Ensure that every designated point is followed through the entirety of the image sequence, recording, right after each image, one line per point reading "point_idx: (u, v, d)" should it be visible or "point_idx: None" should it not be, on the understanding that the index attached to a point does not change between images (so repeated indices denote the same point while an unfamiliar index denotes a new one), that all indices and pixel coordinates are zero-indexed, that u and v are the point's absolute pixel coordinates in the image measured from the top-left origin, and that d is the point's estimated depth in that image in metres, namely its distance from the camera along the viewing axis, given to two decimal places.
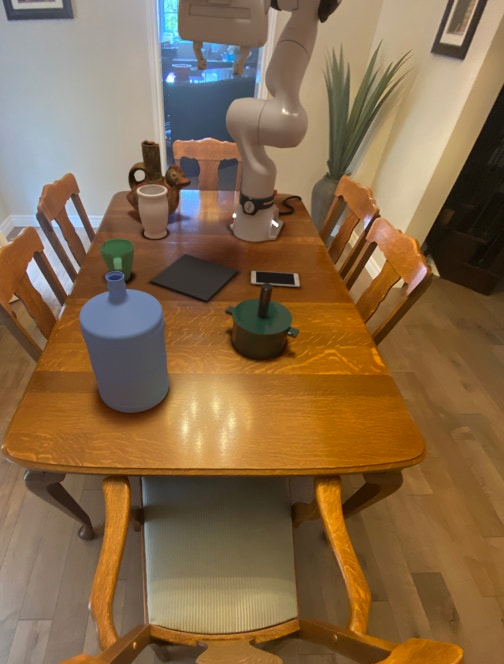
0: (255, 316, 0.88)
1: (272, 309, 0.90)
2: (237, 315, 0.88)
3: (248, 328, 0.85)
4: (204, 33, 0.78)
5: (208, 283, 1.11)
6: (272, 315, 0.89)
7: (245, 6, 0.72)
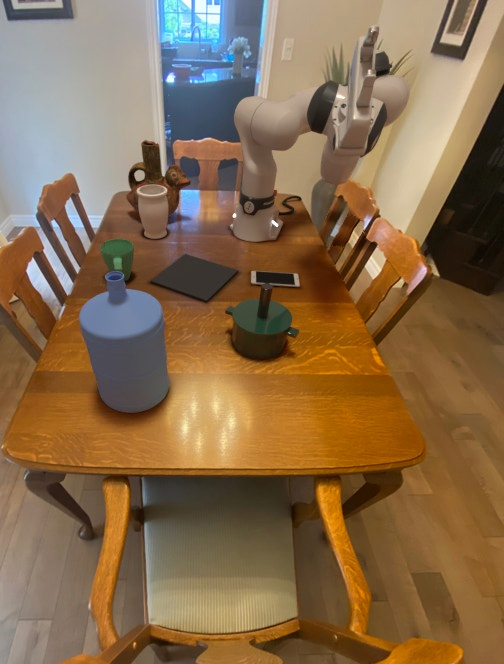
0: (255, 316, 0.88)
1: (272, 309, 0.90)
2: (237, 315, 0.88)
3: (248, 328, 0.85)
4: (351, 98, 0.71)
5: (208, 283, 1.11)
6: (272, 315, 0.89)
7: (349, 80, 0.76)
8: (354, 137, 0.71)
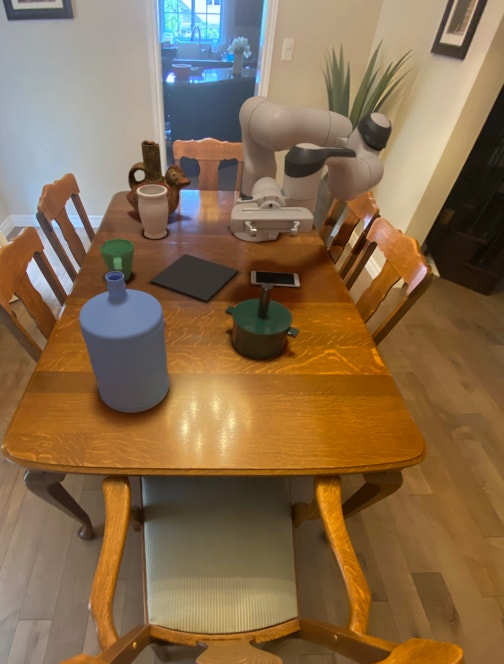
0: (255, 316, 0.88)
1: (272, 309, 0.90)
2: (237, 315, 0.88)
3: (248, 328, 0.85)
4: (259, 215, 0.88)
5: (208, 283, 1.11)
6: (272, 315, 0.89)
7: (294, 208, 0.91)
8: None
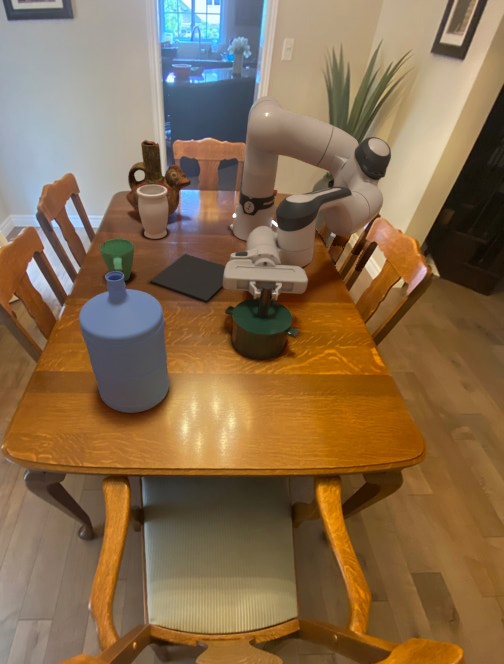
0: (255, 316, 0.88)
1: (272, 309, 0.90)
2: (237, 315, 0.88)
3: (248, 328, 0.85)
4: (252, 275, 0.87)
5: (208, 283, 1.11)
6: (272, 314, 0.89)
7: (289, 268, 0.89)
8: None
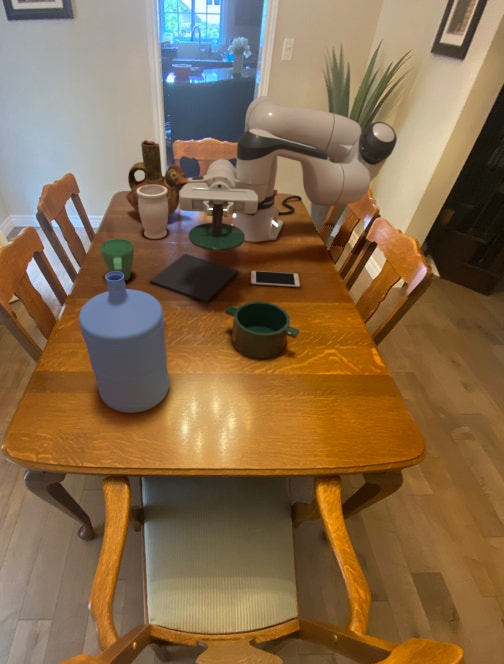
0: (210, 235, 0.94)
1: (227, 230, 0.96)
2: (193, 235, 0.94)
3: (202, 244, 0.91)
4: (206, 195, 0.92)
5: (208, 283, 1.11)
6: (226, 234, 0.95)
7: (242, 190, 0.95)
8: None
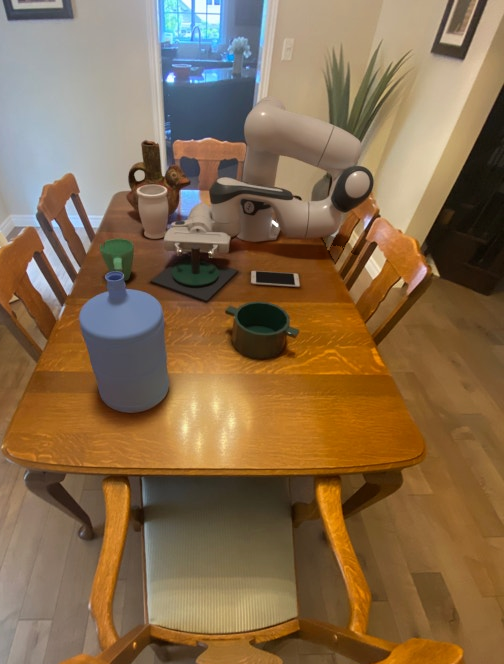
0: (190, 272, 1.13)
1: (204, 267, 1.15)
2: (175, 272, 1.13)
3: (182, 280, 1.10)
4: (186, 238, 1.11)
5: None
6: (203, 271, 1.13)
7: (216, 233, 1.13)
8: None
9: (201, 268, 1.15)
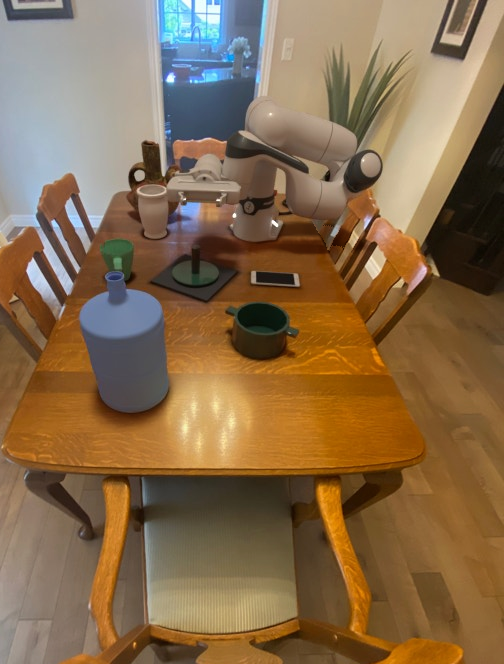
0: (190, 272, 1.13)
1: (204, 267, 1.15)
2: (175, 272, 1.13)
3: (182, 280, 1.10)
4: (191, 186, 0.99)
5: None
6: (203, 271, 1.13)
7: (225, 182, 1.01)
8: None
9: (201, 268, 1.15)
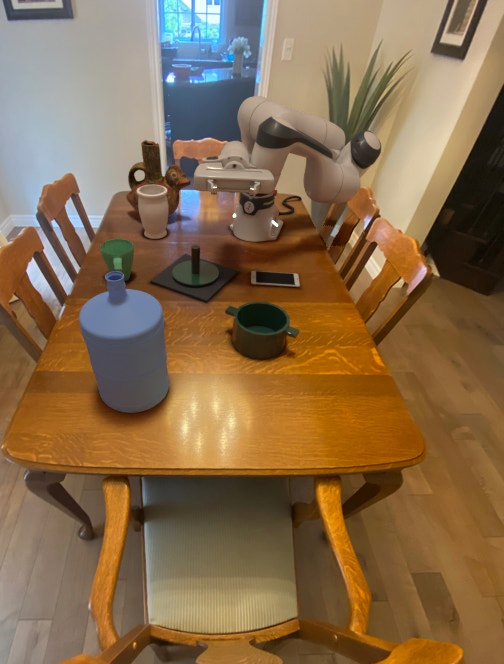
0: (190, 272, 1.13)
1: (204, 267, 1.15)
2: (175, 272, 1.13)
3: (182, 280, 1.10)
4: (221, 174, 0.91)
5: None
6: (203, 271, 1.13)
7: (257, 170, 0.93)
8: None
9: (201, 268, 1.15)
